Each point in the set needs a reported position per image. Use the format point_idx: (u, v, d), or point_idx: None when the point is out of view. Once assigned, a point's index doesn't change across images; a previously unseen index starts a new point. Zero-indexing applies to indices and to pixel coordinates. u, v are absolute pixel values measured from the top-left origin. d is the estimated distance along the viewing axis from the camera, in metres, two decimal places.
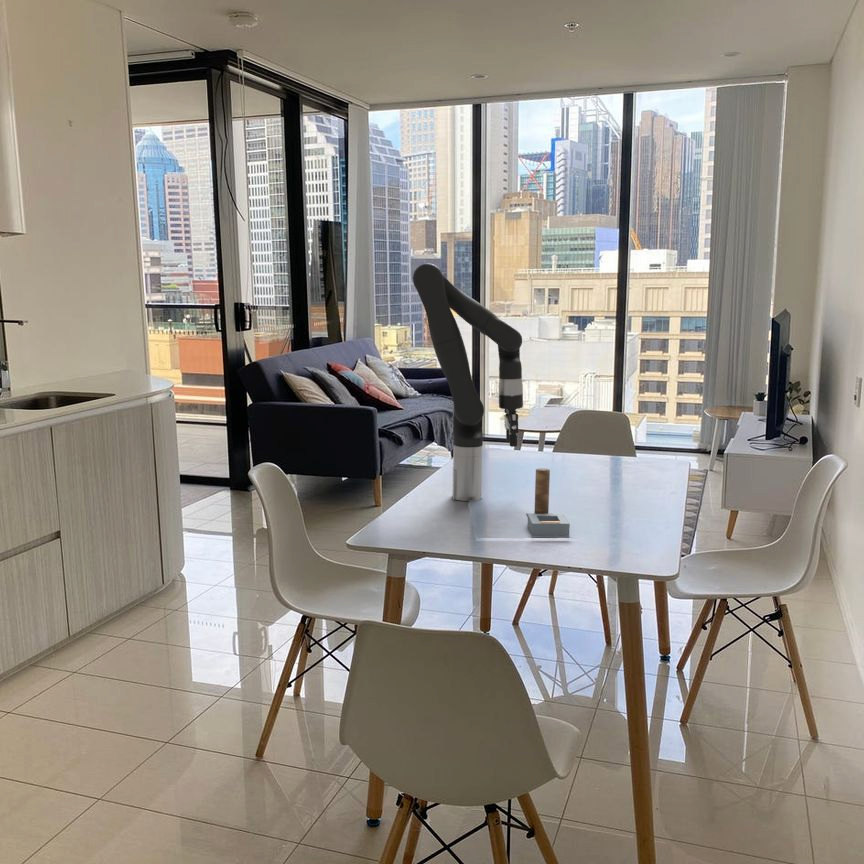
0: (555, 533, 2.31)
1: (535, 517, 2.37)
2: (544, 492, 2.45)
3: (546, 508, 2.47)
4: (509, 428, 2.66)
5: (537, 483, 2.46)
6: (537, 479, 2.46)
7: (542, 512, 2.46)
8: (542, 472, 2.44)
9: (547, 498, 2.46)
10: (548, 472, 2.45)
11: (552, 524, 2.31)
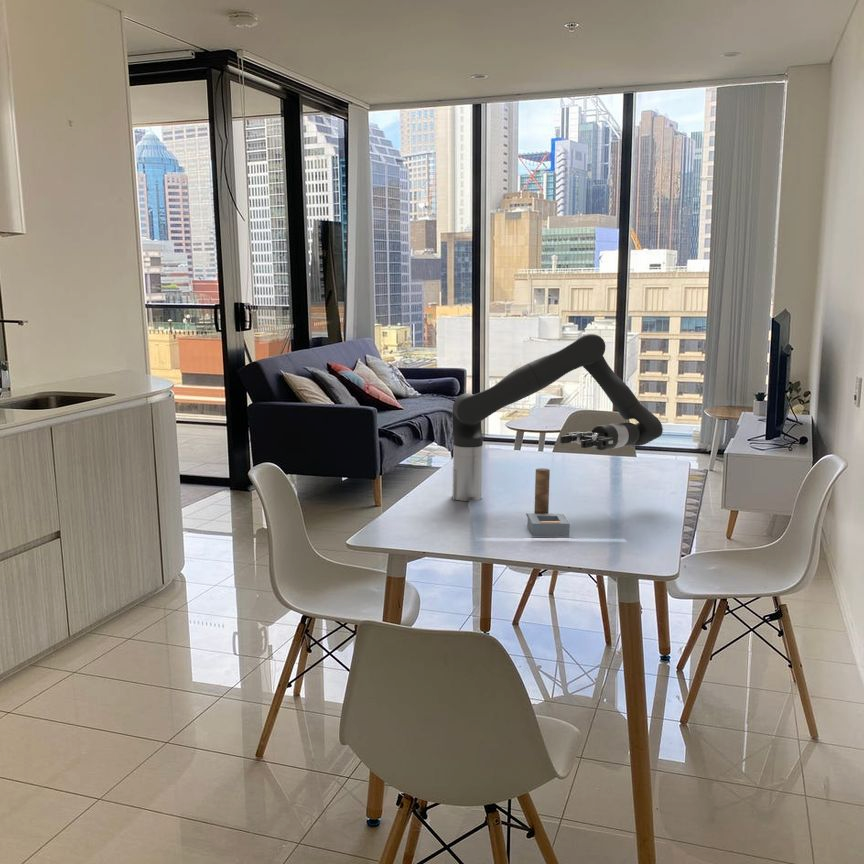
0: (555, 533, 2.31)
1: (535, 517, 2.37)
2: (544, 492, 2.45)
3: (546, 508, 2.47)
4: (596, 438, 2.51)
5: (537, 483, 2.46)
6: (537, 479, 2.46)
7: (542, 512, 2.46)
8: (542, 472, 2.44)
9: (547, 498, 2.46)
10: (548, 472, 2.45)
11: (552, 524, 2.31)
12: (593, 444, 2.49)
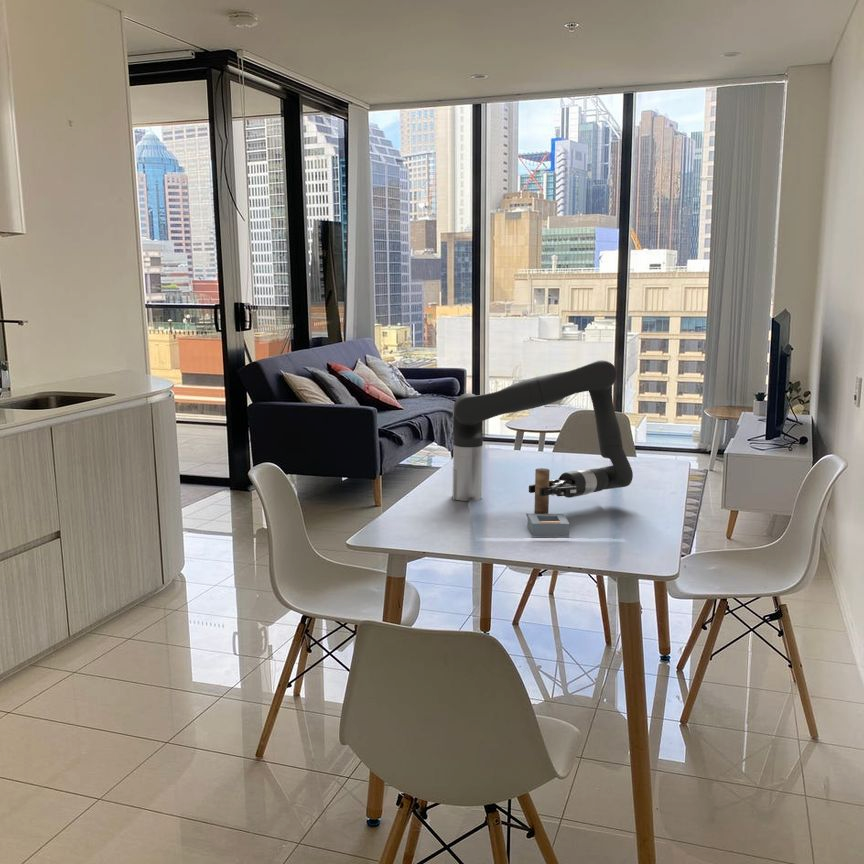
0: (555, 533, 2.31)
1: (535, 517, 2.37)
2: None
3: (546, 508, 2.47)
4: (557, 486, 2.46)
5: (537, 483, 2.46)
6: (537, 479, 2.46)
7: (542, 512, 2.46)
8: (542, 472, 2.44)
9: (547, 498, 2.46)
10: (548, 472, 2.45)
11: (552, 524, 2.31)
12: (552, 492, 2.45)
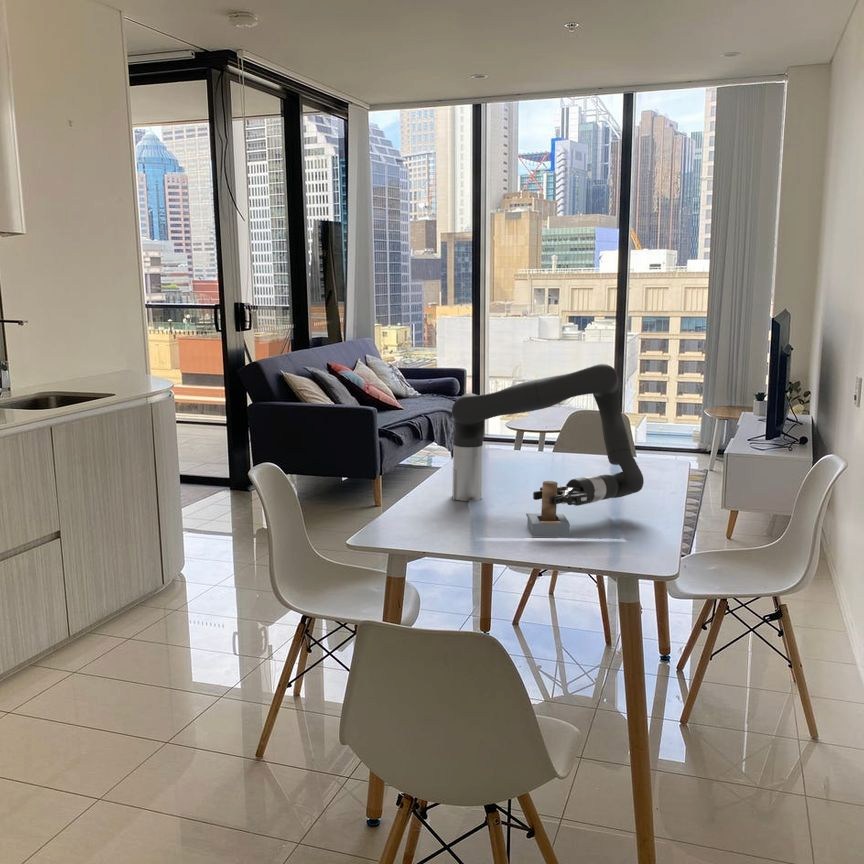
0: (555, 533, 2.31)
1: (535, 517, 2.37)
2: (551, 506, 2.33)
3: None
4: (567, 494, 2.33)
5: (544, 496, 2.33)
6: (544, 492, 2.33)
7: None
8: (549, 485, 2.32)
9: (554, 512, 2.34)
10: (556, 485, 2.33)
11: (552, 524, 2.31)
12: (562, 500, 2.32)
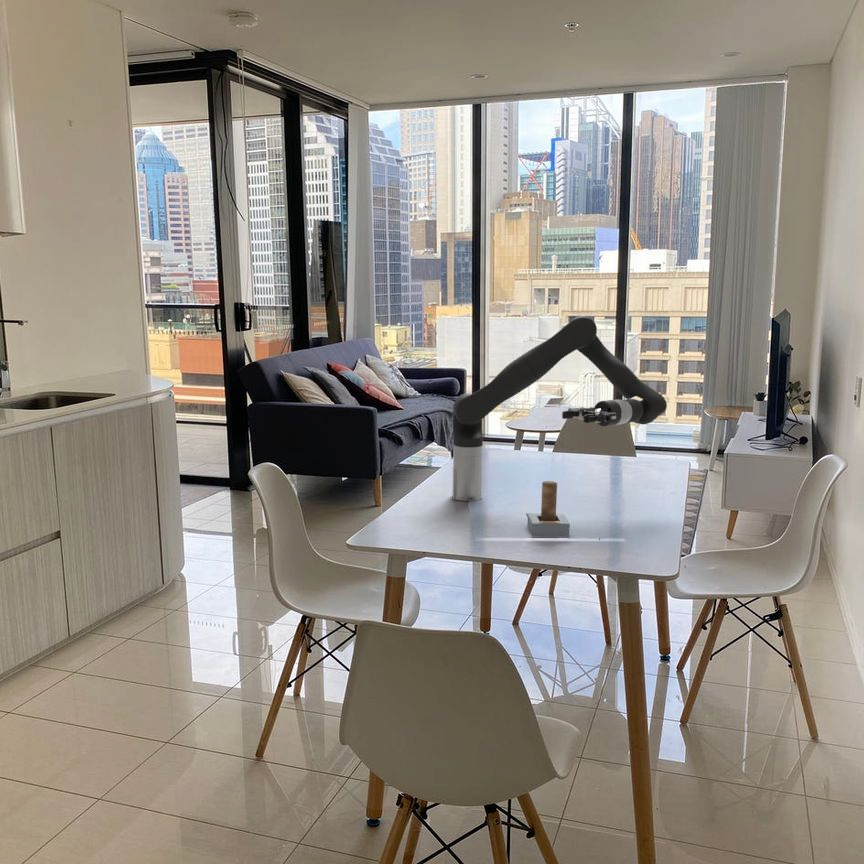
0: (555, 533, 2.31)
1: (535, 517, 2.37)
2: (551, 506, 2.33)
3: None
4: (599, 413, 2.44)
5: (544, 497, 2.33)
6: (544, 493, 2.33)
7: None
8: (549, 485, 2.32)
9: (554, 513, 2.34)
10: (555, 485, 2.33)
11: (552, 524, 2.31)
12: (596, 419, 2.43)
